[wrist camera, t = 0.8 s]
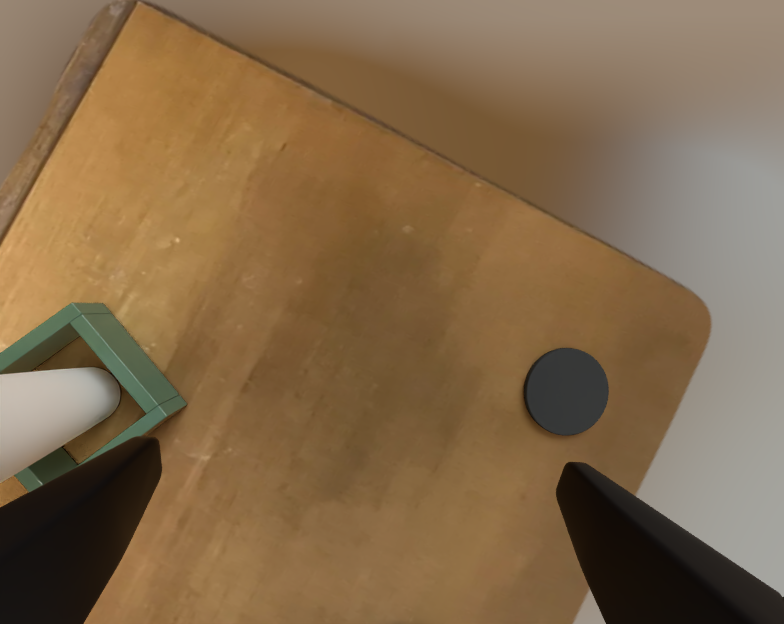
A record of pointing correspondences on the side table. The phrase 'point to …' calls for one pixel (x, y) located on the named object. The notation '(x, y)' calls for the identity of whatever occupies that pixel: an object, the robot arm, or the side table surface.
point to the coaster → (566, 391)
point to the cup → (50, 411)
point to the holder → (117, 357)
